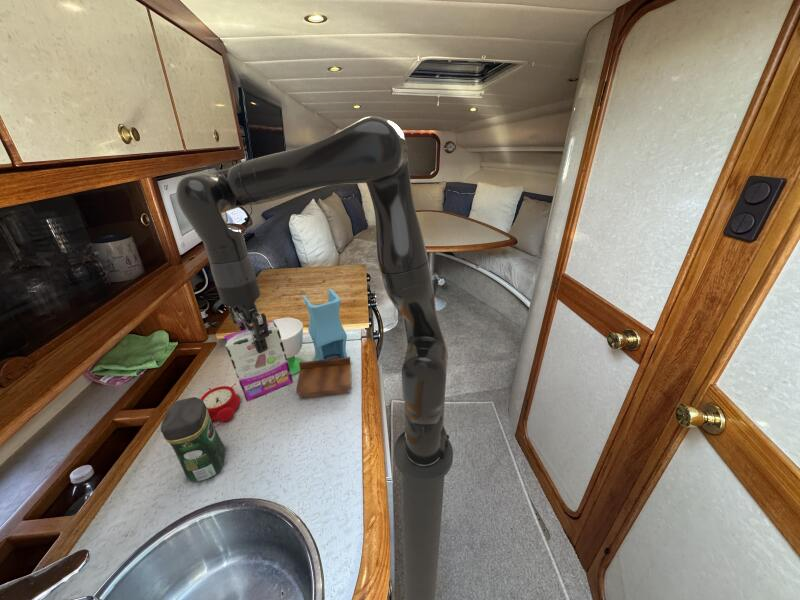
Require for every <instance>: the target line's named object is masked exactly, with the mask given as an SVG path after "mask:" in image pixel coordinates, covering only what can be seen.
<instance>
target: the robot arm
mask: <svg viewBox="0 0 800 600" xmlns="http://www.w3.org/2000/svg"><path fill="white" fill-rule="evenodd" d="M350 184H366V186H367V189H368V192H369V196H370V200H371V201H372V202H371V203H372V206H373V211H374V219H375V239H376V240H375V243H376V256H377V261H378V267H379V271H380V275H381V279H382V282H383V286H384V289H385V292H386V294H387V296H388V298H389V300H390V302H391V303H392V305H393V306H394V307H395V308H396V310H397V311H398V313H399V315H400V316H401V318H402V321H403V324H404V327H405V328H404V330H405V333H406V334H405V335H406V343H407V346H406V352H405V355H404V359H403V362H402V367H401V390H402V398H403V401H404V432H405V436H404V439H405V453H406V456H407V458H408V460H409V461H410V462H411V463H412V464H414V465H416V466H418V467H430V466H433V465H435V464H436V463H437V462H438V461H439V460H440V459H443V458H444V447H448V440H450V435H449V434H447V431H446V429H445V425H444V419H445V403H446V385H447V370H448V361H449V353H448V352H449V351H448V347H447V344H446V341H445V338H444V335H443V332H442V329H441V326H440V322H439V319H438V315H437V309H436V299H435V298H436V297H435V291H434V285H433V277H432V272H431V266H430V260H429V256H428V252H427V248H426V243H425V240H424V239H425V238H424V236H423V232H422V227H421V224H420V221H419V217H418V213H417V211H416V207H415V203H414V199H413V191H412V181H411V173H410V163H409V149H408V143H407V138H406V136H405V134H404V132H403V130H402V129H401V128H400V127H399V126H398V125H397V124H396V123H395V122H393V121H392V120H390V119H387V118H384V117H381V116H373V115H371V116H365V117H362V118H360V119H359V120H357V121H355V122H354V123H352V124H351V125H349V126H346V127H344V128H343V129H341V130H339V131H337V132H335V133H333V134H331V135H329V136H327V137H325V138H323V139H320V140H318V141H315V142H313V143H310V144H307V145H304V146H301V147H296V148H293V149H289V150H284V151H279V152H274V153H270V154H266V155H263V156H258V157H255V158H251V159H248V160H245V161H242V162H238V163H236V164H235V165H233V166H232V167H228V168H224V169H219V170H215V171H209V172H203V173H198V174H192V175H191V174H190V175H187V176H184V177H182V178H181V179H180V180H179V182H178V183H177V185H176V200H177V203H178V206H179V208H180V210H181V211H182V213H183V215H184V216H185V218H186V220H187V221H188V222H189V224H190V225H191V227H192V228H193V230H194V231H195V233H196V235H197V236H198V237H199V239H200V240H201V242H202V244H203V247H204V251H205V253H206V257H207V260H208V263H209V267H210V273H211V275H212V279H213V282H214V284H215V288H216V291H217V294H218V297H219V299H220V302H221V304H222V305H224V306H226V307H227V309H228V312H229V314H230V317H231V319H232V322H233V324H234V325H236V327H237V328H238V329H239V331H242V330H245V329H246V330H247V331H250V333H251V335H252V338H253V340H254V344H255V347H256V350H257V352H258V353H262V352H264V351H266V350H267V349H268V347H267V343H266V340H265V338H266V337H268V336H269V331H268V326H267V322H268V321H267V317H266V316H267V315H266V314H265V313H264V312H262V313H260V310H259V307H258V305H256V304H255V303H256V302H257V299H259V297H260V296H261V291H260V287H259V284H258V280H257V277H256V274H255V269H254V265H253V263H252V260H251V258H250V255H249V253H248V249H247V245H246V241H245V237H244V235H243V232H242V230H241V229H240V228H239V227H238V226H236V225H231V224H227V222H226V221H225V219H224V217H223V215H222V214H223V213H225V212H228V211H232V210H235V209H238V208H241V207H245V206H256V205H262V204H266V203H269V202H274V201H277V200H281V199H286V198H289V197H292V196H296V195H298V194H301V193H304V192H305V193H306V192H307V191H310V190H314V189H319V188H324V187H329V186H338V185H350ZM251 324H252V325H251ZM404 439H403V440H404Z"/></svg>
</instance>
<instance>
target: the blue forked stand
mask: <svg viewBox="0 0 800 600" xmlns="http://www.w3.org/2000/svg"><path fill="white" fill-rule="evenodd" d="M301 297H302V299H303V301H304V303H305V306H306V308H307V311H308V314H309V315H308V316H309V322H308V329H307V330H308V331H307V332H308V333H309V337H310V338H311V340H312V343H313V346H314V361H317V360H325V357H328V356H330V355H339V356H340V358H347V357H348V355H347V351H346V350H347V349H346V347H347V346H346V345H347V340H348V339H347V338H348V336H347V332H346V330H345V329H344V326H343V323H342V322H341V318H340V307H341V306H340V305H341V298H340V296H339V295H338V294H337V293H336V292H335V291H334V290H333V289H332V288H330V289H328V302H324V303H321V304H312V303H311V302H310V300H309V298H308V297H307V295H302V296H301Z"/></svg>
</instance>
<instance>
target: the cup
mask: <svg viewBox="0 0 800 600" xmlns="http://www.w3.org/2000/svg"><path fill="white" fill-rule="evenodd" d="M272 321H274V322H275V324H276V326H277V327H278V329H279V332H280V335H281V340H282V343H283V347H284V350H285V354H286V358H287V361H288V365H289V369H290V372H291V376H293V375H296V374H298V373H300V366H299V362H303V360H302V359H299V358H296V356H297V355H298V354H299V353H300V352H301V349H302V347H303V340H304V339H303V338H304V337H303V336H304V323H303V322H302V320H299V319H298V318H294V317H281V318H277V319H273V320H272Z"/></svg>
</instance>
